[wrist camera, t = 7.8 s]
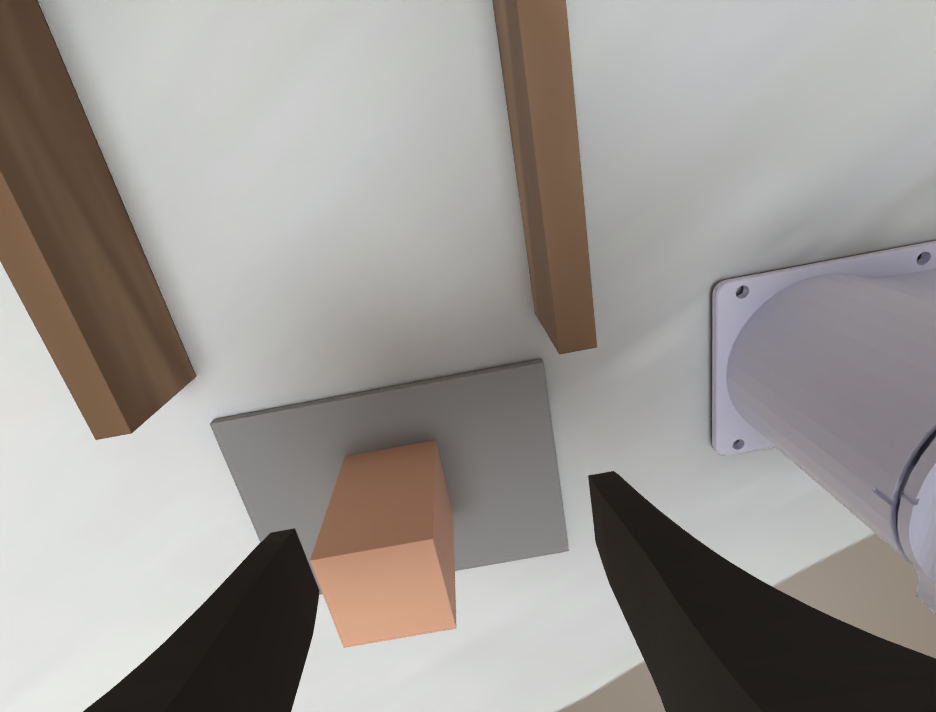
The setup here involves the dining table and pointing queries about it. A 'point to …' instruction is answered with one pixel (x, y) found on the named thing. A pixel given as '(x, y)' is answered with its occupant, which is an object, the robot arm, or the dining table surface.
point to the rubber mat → (404, 423)
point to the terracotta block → (388, 546)
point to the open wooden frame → (125, 266)
